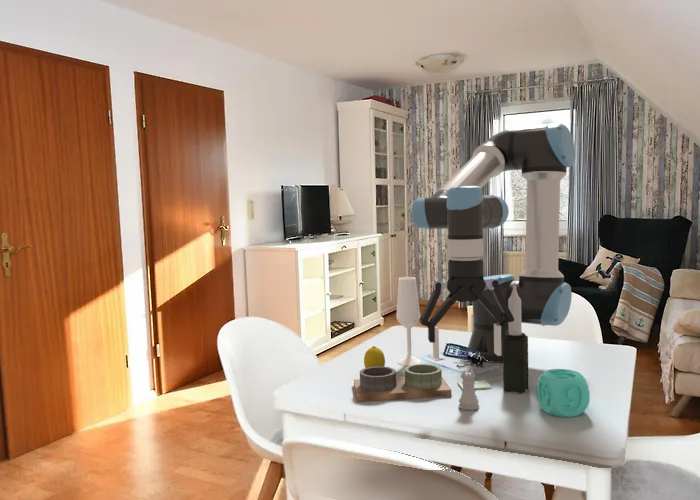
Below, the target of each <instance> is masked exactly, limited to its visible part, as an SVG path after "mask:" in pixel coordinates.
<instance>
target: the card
mask: <svg viewBox="0 0 700 500" xmlns="http://www.w3.org/2000/svg"><path fill="white" fill-rule="evenodd" d="M462 382H463V381H460V382H459V381H457V385H458V386H459V388H461V390H462V391H463V384H462ZM474 382H475V384H474V391H475V390H477V391H478V390H489V389H491V390H492V386H491V384H489V383H488V382H487V381H486V380H474Z"/></svg>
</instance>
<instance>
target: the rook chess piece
mask: <svg viewBox="0 0 700 500" xmlns="http://www.w3.org/2000/svg"><path fill="white" fill-rule="evenodd" d="M460 378H461V379H462V381H461V382H462V384H463V390H462V392H461V395H460V398H459V400H458V402H459V404H458V407H459V408H460V410H463V411H468V412H469V411H476V410H478V409H479V407H480V405H479V399H478V397H477V395H476V393H475V392H476V391H475V390H474V384H475V382H474V381H475V379H476V375H475V371H473V370H469V369H467V370H462V373H461V375H460Z"/></svg>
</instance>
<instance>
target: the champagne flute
mask: <svg viewBox="0 0 700 500" xmlns="http://www.w3.org/2000/svg"><path fill="white" fill-rule="evenodd" d="M397 282H398V285H397V298H396V299H397V301H396V320H397V321H398V323H399V324H400V325H401V326H402V327H403V328H405V329H406V347H407V348H406V351H407V355H406V356H405V357H403V358H401V359H400V360H399V361H397V363H398V364H399V365H402V366H407V367H408V366H411V365H415V364H422V361H421V360H420V359H418V358H417V357H415V356H413V354H412V331H411V329H412V328H414V327H415V326H416V325H417V324H418V322H419V320H420V318H421V311H420V304H419V303H420V301H419V295H418V288H417V287H418V286H417V280H416V277H414V276H413V277H412V276H402V277H398V281H397Z"/></svg>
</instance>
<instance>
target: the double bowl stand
mask: <svg viewBox="0 0 700 500" xmlns="http://www.w3.org/2000/svg"><path fill="white" fill-rule="evenodd" d="M442 370H443V369H442V368H441V367H440V365H439V366H438V365H435V364H429V363H421V364H415V365H411V366H408V365H407V366H406V367H405V368H404V376H397V370H396V369H395V368H394V367H393V368H392V367H390V366H384V367H382V366H378V367H368V368H365V367H364V368H363V369H361V370H359V378H358V379H357V378H356V379H353V387H354V391H355V396H356V400H357V401H356V402H371V401H372V402H373V401H390V400H405V399H406V400H407V399H424V398H440V397H452V392H453V391H452V389H451V387H450V386H449V385H448V383H447V382H446V380H445V379H444V377H443V376H442V375H443V374H442Z"/></svg>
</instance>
